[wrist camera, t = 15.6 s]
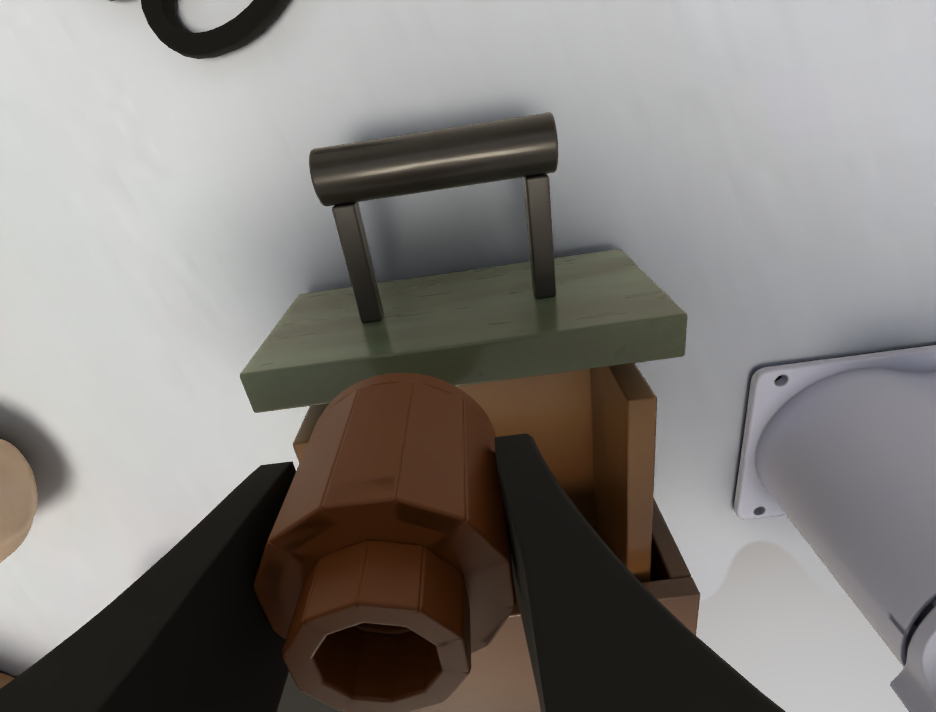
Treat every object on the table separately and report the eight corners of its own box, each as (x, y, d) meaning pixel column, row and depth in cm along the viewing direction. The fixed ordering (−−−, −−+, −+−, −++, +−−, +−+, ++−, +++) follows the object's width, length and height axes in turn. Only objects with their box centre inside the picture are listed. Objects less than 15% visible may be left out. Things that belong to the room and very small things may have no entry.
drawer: (254, 150, 16) (159, 181, 11) (620, 93, 15) (703, 97, 10) (376, 544, 24) (355, 668, 19) (621, 515, 23) (667, 634, 18)
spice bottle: (486, 360, 10) (506, 547, 6) (505, 508, 12) (531, 730, 8) (291, 384, 10) (182, 582, 6) (339, 526, 12) (280, 753, 8)
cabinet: (350, 480, 23) (309, 638, 16) (629, 445, 22) (701, 594, 16) (408, 660, 29) (395, 827, 23) (627, 636, 29) (678, 800, 22)
